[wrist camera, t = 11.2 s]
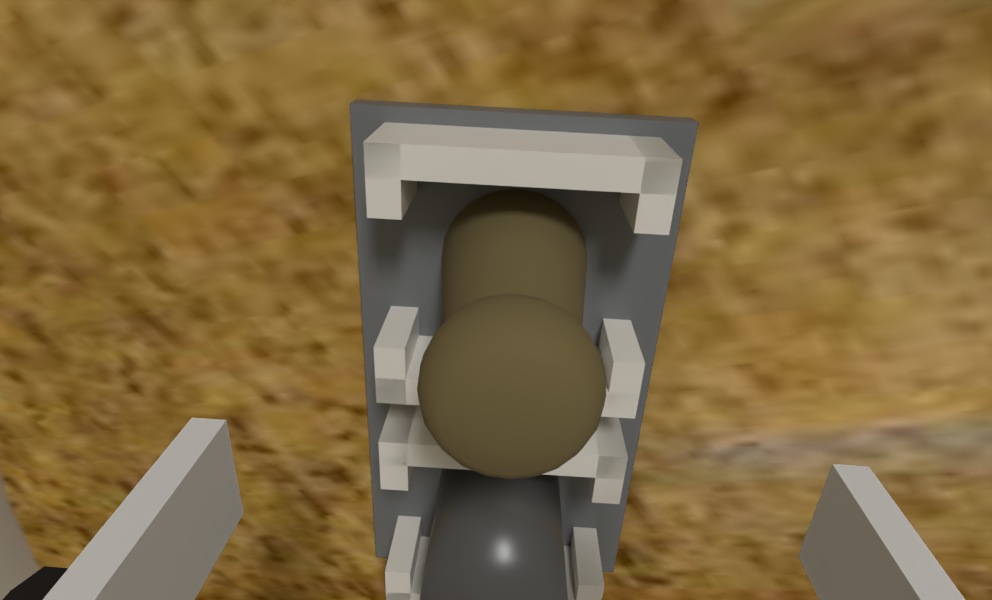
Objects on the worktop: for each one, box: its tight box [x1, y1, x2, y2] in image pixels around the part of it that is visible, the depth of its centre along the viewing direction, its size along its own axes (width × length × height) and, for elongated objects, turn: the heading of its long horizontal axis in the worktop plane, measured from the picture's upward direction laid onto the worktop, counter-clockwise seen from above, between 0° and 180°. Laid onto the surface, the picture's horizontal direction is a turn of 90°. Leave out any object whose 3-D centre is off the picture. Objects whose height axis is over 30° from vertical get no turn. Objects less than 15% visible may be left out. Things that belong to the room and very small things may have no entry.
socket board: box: [350, 100, 699, 600], centre depth 25 cm, size 13×24×8 cm, turn 177°
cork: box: [417, 189, 606, 479], centre depth 20 cm, size 6×6×11 cm
